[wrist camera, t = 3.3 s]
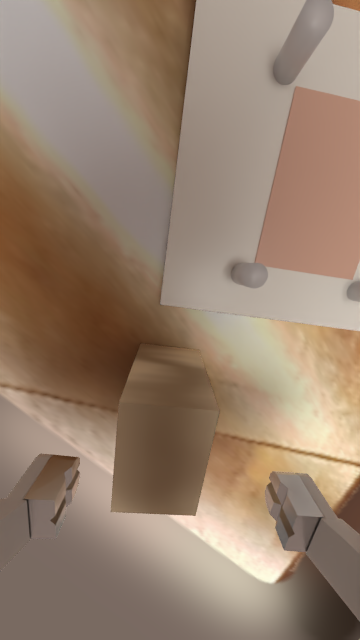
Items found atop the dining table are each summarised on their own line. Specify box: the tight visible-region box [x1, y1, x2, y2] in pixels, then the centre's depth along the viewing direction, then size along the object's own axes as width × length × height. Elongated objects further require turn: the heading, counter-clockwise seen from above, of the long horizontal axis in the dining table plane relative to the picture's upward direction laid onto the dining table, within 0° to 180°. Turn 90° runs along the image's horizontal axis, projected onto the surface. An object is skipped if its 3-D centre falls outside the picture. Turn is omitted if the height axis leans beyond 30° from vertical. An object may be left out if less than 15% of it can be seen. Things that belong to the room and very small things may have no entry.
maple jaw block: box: [111, 343, 220, 516], centre depth 12 cm, size 4×6×6 cm, turn 172°
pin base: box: [160, 0, 360, 331], centre depth 10 cm, size 16×14×3 cm
